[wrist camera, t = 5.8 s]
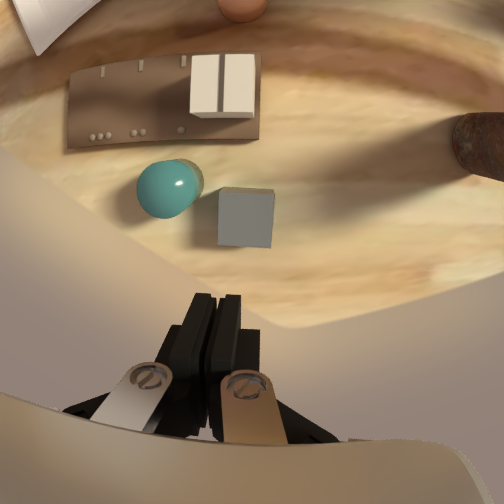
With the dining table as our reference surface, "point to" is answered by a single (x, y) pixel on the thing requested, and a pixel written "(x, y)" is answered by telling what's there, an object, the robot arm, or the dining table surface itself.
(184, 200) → the teal rounded cylinder
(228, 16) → the peach domed cylinder
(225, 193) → the slate box
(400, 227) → the dining table surface
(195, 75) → the slider
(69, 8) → the plate
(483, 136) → the candle
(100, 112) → the rail
